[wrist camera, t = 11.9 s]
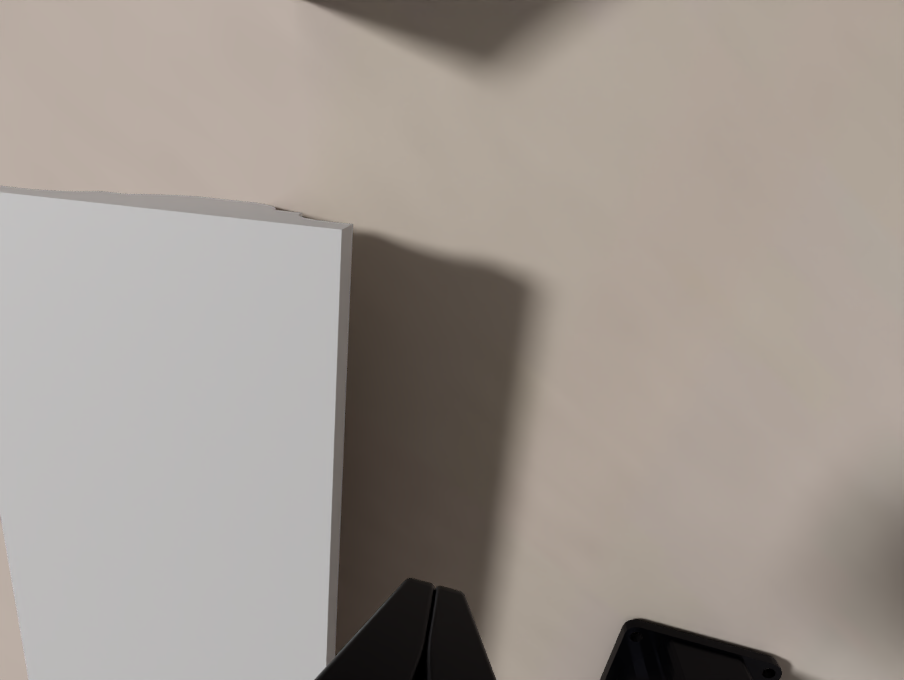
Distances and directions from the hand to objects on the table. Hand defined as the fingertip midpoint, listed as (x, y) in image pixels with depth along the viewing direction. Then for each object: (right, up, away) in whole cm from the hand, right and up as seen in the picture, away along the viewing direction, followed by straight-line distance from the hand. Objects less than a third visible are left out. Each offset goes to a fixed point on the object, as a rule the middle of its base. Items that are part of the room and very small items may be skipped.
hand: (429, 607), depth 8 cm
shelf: (-9, -5, +17) cm, 20 cm away
